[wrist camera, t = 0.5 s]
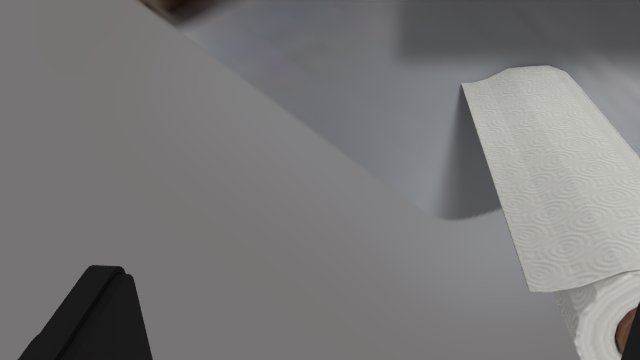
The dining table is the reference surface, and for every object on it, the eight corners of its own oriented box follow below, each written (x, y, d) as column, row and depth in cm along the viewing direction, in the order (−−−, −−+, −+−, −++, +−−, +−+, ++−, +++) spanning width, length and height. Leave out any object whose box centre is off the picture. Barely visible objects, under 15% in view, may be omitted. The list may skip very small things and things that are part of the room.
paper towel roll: (595, 117, 38) (790, 359, 20) (512, 161, 41) (618, 417, 22) (545, 29, 36) (714, 212, 17) (460, 82, 38) (529, 294, 20)
